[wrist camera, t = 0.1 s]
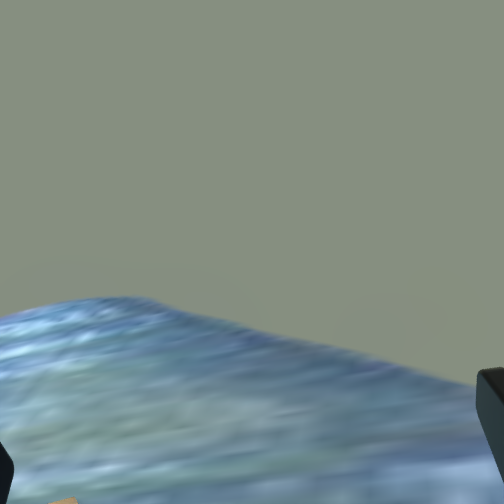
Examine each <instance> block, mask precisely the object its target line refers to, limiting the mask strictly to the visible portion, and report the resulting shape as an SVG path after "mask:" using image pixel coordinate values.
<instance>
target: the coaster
mask: <svg viewBox="0 0 504 504" xmlns="http://www.w3.org/2000/svg"><path fill="white" fill-rule="evenodd" d="M49 504H78V502H77V500H76V499H75V497H71V498H67V499H64V500H60V501H56V502H53V503H49Z"/></svg>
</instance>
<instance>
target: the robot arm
mask: <svg viewBox="0 0 504 504" xmlns="http://www.w3.org/2000/svg"><path fill="white" fill-rule="evenodd" d="M476 410H477V414H478V417H479V420H480V422H481V425H482V428H483V430H484V433H485V435H486V438H487V441H488V443H489V446H490V448H491V451H492V454H493V456H494V459H495V461H496V464H497V467H498V469H499V472H500V475H501V477H502V480H503V482H504V368H503V367H497V368H489V369H482V370H480V371H479V372H478V374H477V386H476ZM13 475H14V464H13V461H12V459H11V458H10V456H9V454H8V453H7V451H6V450H5V448H4V447H3V445H2V444H1V442H0V504H6V502H7V498H8V494H9V491H10V487H11V483H12V479H13Z"/></svg>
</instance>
